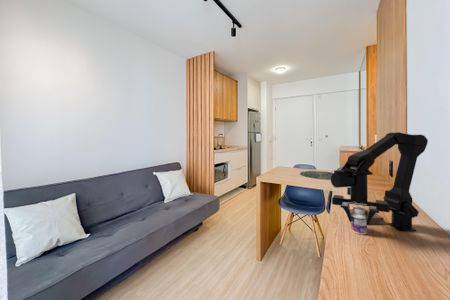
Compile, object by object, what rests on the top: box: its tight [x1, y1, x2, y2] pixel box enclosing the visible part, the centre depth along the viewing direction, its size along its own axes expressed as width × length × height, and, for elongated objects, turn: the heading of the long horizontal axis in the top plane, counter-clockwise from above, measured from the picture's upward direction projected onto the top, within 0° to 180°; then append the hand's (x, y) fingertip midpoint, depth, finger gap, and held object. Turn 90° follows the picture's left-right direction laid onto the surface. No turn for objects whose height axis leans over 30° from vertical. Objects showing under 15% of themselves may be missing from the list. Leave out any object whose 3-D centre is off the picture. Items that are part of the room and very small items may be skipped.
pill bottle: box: [350, 206, 368, 236], centre depth 78 cm, size 5×5×10 cm
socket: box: [350, 208, 385, 225], centre depth 89 cm, size 10×10×3 cm
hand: (358, 223), depth 78 cm, fingers closed on pill bottle, 5 cm apart
